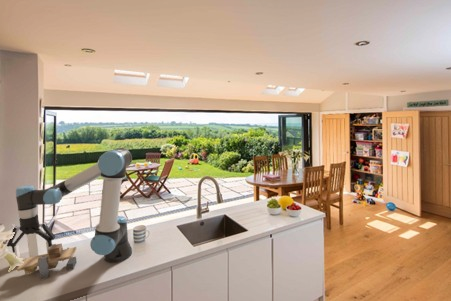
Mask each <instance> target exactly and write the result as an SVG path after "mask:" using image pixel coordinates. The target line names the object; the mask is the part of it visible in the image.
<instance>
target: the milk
mask: <svg viewBox="0 0 451 301" xmlns="http://www.w3.org/2000/svg"><path fill="white" fill-rule="evenodd" d="M39 228H40V229H41V230H42V231H43V232H44V233H46V232H45V231H44V229H43V228H41V227H39ZM26 239H27V241H26V242H27V248H28V256H29V257H28V258H30V257H34V256H39V255H43V254H47V247H46V241H47V240H45V239H44V238H43V237H41V236H40V235H38V234H36V233H34V234H28V235H26Z"/></svg>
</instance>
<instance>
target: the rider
mask: <svg viewBox="0 0 451 301" xmlns="http://www.w3.org/2000/svg"><path fill="white" fill-rule="evenodd" d="M55 244H56V243H55ZM63 250H64V248H63V244H62V243H61V242H60V243H57V244H56V245H52V246H51V247H50V248H49V249H48V254H49V258H50V259H52V258H56V257H60V256H61V255H62V253H63Z"/></svg>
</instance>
